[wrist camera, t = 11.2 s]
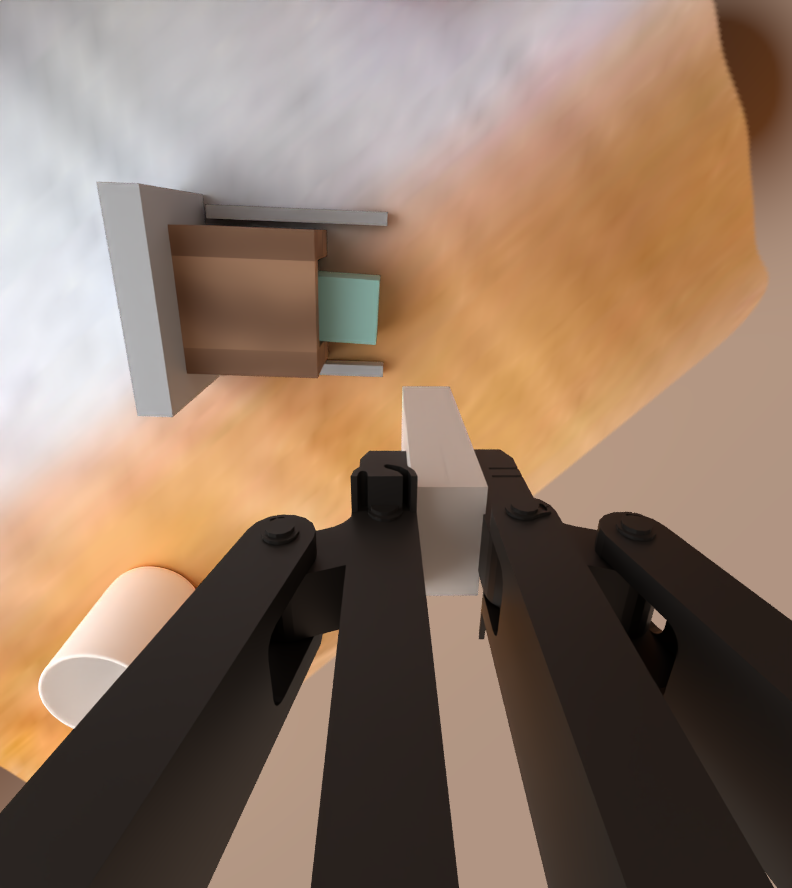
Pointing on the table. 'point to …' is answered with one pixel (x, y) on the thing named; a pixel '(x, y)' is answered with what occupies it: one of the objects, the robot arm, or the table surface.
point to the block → (249, 299)
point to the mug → (110, 640)
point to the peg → (348, 307)
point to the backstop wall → (154, 293)
